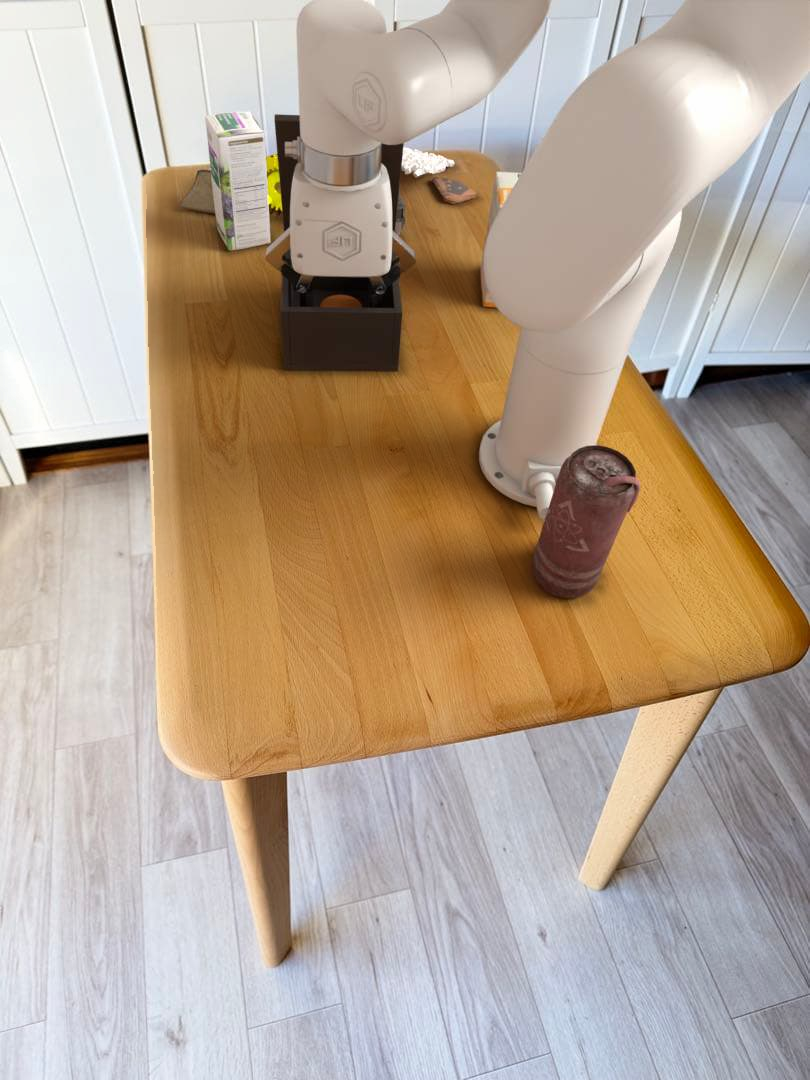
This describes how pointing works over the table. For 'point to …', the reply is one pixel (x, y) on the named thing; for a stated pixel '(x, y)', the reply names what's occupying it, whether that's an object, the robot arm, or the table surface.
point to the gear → (273, 185)
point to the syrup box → (239, 179)
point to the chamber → (340, 327)
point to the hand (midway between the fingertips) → (341, 316)
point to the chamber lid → (287, 132)
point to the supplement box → (500, 193)
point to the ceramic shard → (200, 194)
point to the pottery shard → (453, 190)
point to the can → (583, 520)
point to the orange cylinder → (341, 302)
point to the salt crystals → (423, 162)
